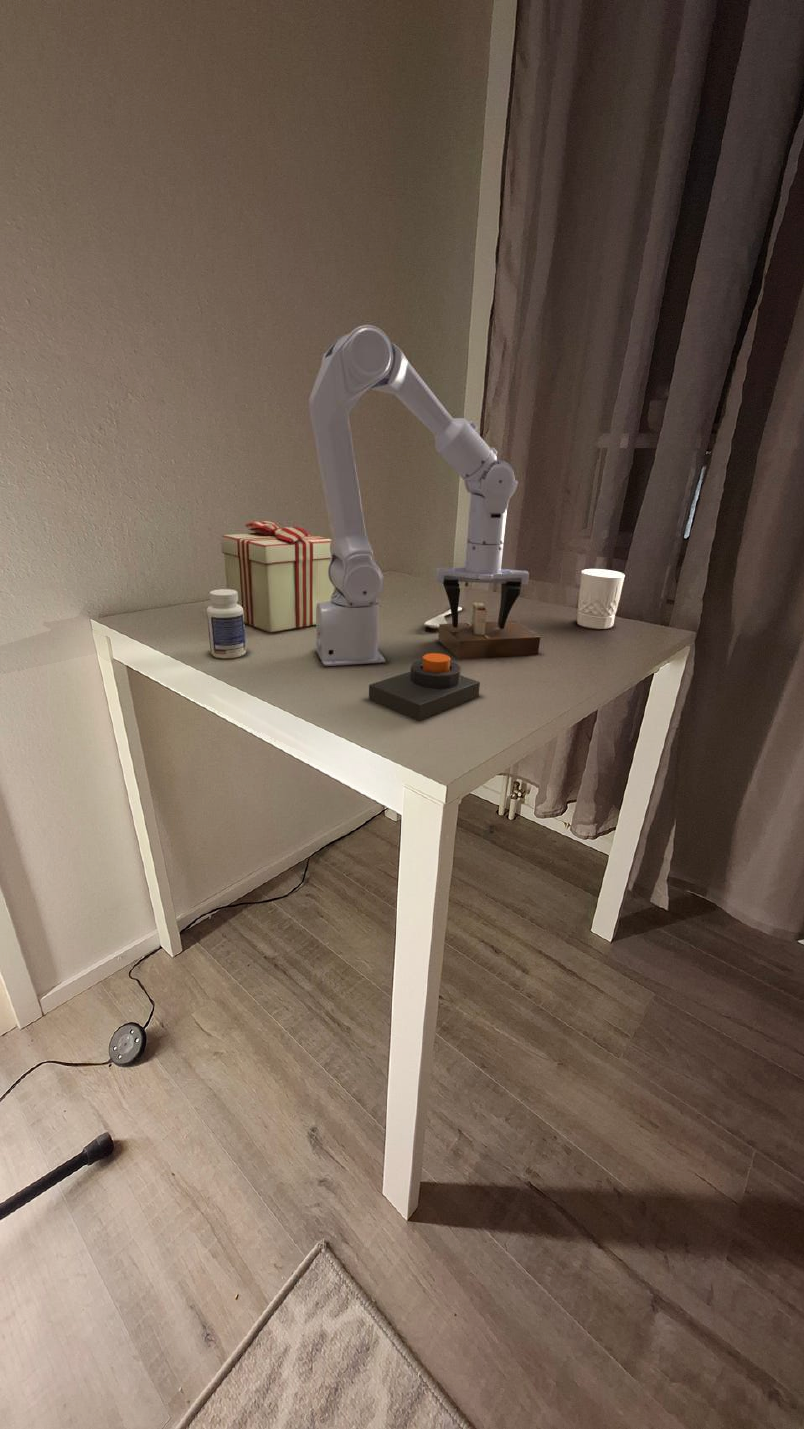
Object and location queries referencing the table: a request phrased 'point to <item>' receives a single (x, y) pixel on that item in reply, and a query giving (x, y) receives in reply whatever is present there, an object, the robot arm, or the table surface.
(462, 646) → the dial panel
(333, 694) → the table surface
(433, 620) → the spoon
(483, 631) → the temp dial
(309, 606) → the gift box
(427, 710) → the button base
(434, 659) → the power button
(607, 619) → the white cup
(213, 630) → the pill bottle
